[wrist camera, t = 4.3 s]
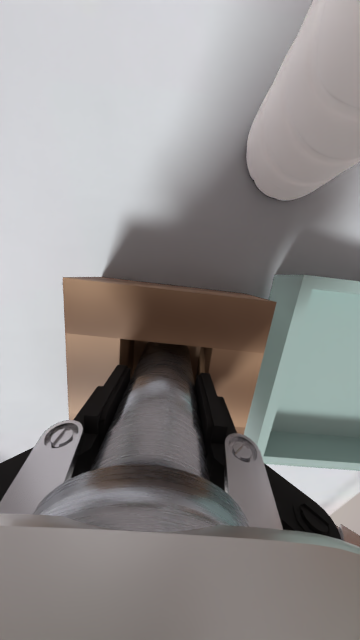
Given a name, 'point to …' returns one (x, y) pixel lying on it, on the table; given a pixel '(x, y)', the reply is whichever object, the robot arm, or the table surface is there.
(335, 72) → the water bottle
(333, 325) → the tray
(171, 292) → the block
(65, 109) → the table surface
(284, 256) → the table surface
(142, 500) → the steel pin
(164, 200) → the table surface
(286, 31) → the table surface
